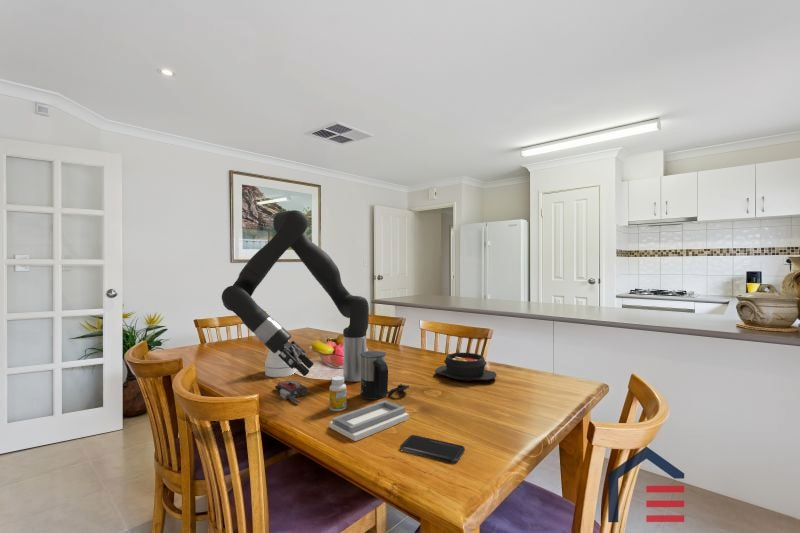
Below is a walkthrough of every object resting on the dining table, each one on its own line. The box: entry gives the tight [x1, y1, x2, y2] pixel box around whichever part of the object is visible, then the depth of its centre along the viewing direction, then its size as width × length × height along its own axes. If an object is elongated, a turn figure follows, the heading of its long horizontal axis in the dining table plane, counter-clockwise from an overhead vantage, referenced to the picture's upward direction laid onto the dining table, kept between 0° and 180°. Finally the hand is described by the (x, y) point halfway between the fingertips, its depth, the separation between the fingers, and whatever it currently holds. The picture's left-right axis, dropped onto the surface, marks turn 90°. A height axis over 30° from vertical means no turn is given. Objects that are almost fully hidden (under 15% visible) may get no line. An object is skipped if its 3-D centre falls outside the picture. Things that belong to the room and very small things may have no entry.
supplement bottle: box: [328, 375, 348, 412], centre depth 123 cm, size 5×5×10 cm
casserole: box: [434, 352, 498, 382], centre depth 155 cm, size 25×19×8 cm
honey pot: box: [264, 339, 298, 378], centre depth 163 cm, size 13×13×18 cm
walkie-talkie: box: [274, 379, 308, 404], centre depth 135 cm, size 9×4×20 cm
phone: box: [399, 434, 466, 464], centre depth 96 cm, size 8×1×15 cm
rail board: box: [328, 399, 410, 442], centre depth 111 cm, size 20×12×3 cm, turn 134°
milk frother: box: [359, 350, 410, 400], centre depth 135 cm, size 14×16×15 cm
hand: (309, 369), depth 122 cm, fingers open, 8 cm apart
